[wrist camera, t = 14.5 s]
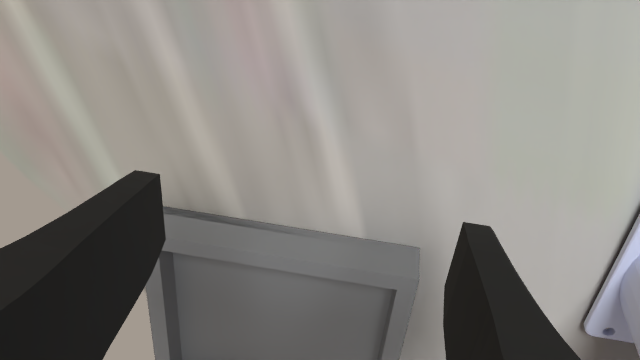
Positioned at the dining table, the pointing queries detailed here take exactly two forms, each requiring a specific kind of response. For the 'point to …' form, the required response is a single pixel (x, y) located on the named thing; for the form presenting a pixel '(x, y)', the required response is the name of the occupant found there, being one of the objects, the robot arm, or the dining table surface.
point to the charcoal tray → (276, 292)
